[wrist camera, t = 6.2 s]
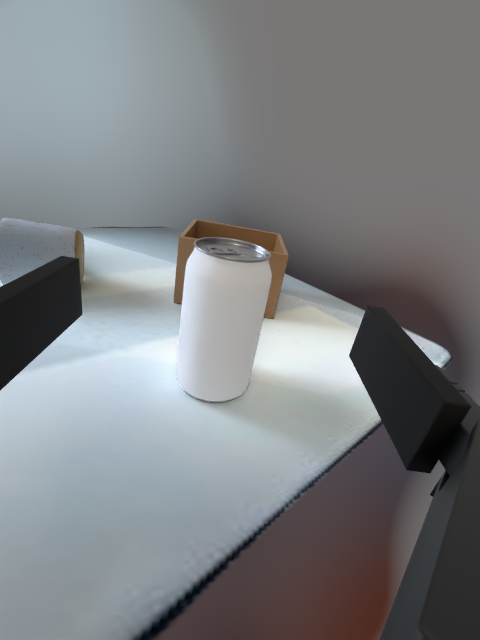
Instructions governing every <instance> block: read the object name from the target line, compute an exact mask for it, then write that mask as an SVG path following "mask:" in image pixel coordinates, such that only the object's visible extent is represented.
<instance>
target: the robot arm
mask: <svg viewBox="0 0 480 640" xmlns="http://www.w3.org/2000/svg"><path fill="white" fill-rule="evenodd" d="M81 315H82V300H81V283H80V267H79V258H73V257H66V256H60V257H58V258H56V259H54V260H52V261H50V262H48V263H46V264H44V265H42V266H40V267H38V268H36V269H34V270H33V271H31V272H29V273H27V274H25V275H23V276H21V277H19V278H17V279H15V280H13V281H11V282H9V283H7V284H5V285H3V286H1V287H0V390H1V389H2V388H3V387H4V386H6V385H7V384H8V383H9V382H10V381H11V380H12V379H13V378H14V377H15V376H16V375H17V374H18V373H20V372H21V371H22V370H23V369H24V368H25V367H26V366H27V365H28V364H29V363H30V362H31V361H33V360H34V359H35V358H36V357H37V356H38V355H39V354H40V353H41V352H42V351H43V350H44V349H45V348H47V347H48V346H49V345H50V344H51V343H52V342H53V341H54V340H55V339H56V338H57V337H58V336H60V335H61V334H62V333H63V332H64V331H65V330H66V329H67V328H68V327H69V326H70V325H71V324H72V323H74V322H75V321H76V320H77V319H78V318H79V317H80V316H81ZM349 356H350V358H351V360H352V362H353V364H354V366H355V368H356V370H357V372H358V374H359V376H360V378H361V380H362V382H363V384H364V386H365V388H366V390H367V392H368V394H369V396H370V398H371V400H372V402H373V404H374V406H375V408H376V410H377V412H378V414H379V416H380V418H381V420H382V422H383V424H384V426H385V428H386V430H387V432H388V434H389V435H390V438H391V439H392V442H393V444H394V446H395V448H396V449H397V451H398V454H399V455H400V458H401V459H402V461H403V463H404V465H405V467H406V469H407V470H410V471H417V472H426V473H431V471H432V470H433V468H434V466H435V464H436V463H437V461H438V460H440V462H441V463H442V465H443V466H444V468H445V470H446V471H445V472H444V474H443V475H442V477H441V478H440V480H439V481H438V483H437V484H436V486H435V487H434V489H433V491H432V492H431V494H430V495H431V496H433V499H432V502H431V505H430V507H429V510H428V513H427V515H426V518H425V521H424V523H423V526H422V529H421V531H420V534H419V537H418V540H417V542H416V545H415V548H414V550H413V553H412V555H411V558H410V561H409V563H408V566H407V569H406V571H405V574H404V577H403V579H402V582H401V585H400V587H399V590H398V593H397V595H396V598H395V601H394V603H393V606H392V609H391V611H390V614H389V617H388V619H387V622H386V625H385V627H384V630H383V633H382V635H381V638H380V640H480V407H479V406H478V405H477V404H476V403H475V402H474V401H473V399H472V398H471V397H470V396H469V395H468V394H467V393H465V391H464V390H463V389H462V387H461V386H460V385H458V383H457V382H456V381H455V380H454V379H453V378H452V377H451V376H450V374H448V373H447V372H445V371H444V370H443V369H441V368H440V367H438V366H437V365H434V364H433V363H432V361H431V360H430V359H429V358H428V357H427V356H426V355H425V354H424V353H423V351H422V350H421V349H420V348H419V347H418V346H417V345H416V344H415V343H414V341H413V340H412V339H411V338H410V337H409V336H408V335H407V334H406V332H405V331H404V330H403V329H402V328H401V327H400V326H399V325H398V324H397V322H396V321H395V320H394V319H393V318H392V317H391V316H390V315H389V314H388V312H387V311H386V310H385V309H384V308H380V307H373V306H367V308H366V311H365V314H364V317H363V319H362V322H361V325H360V327H359V330H358V333H357V336H356V338H355V341H354V344H353V346H352V349H351V352H350V355H349Z"/></svg>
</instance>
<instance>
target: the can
mask: <svg viewBox="0 0 480 640" xmlns="http://www.w3.org/2000/svg"><path fill="white" fill-rule="evenodd" d="M194 246H195V248H194V250H193V252H192V253H191V255H190V257H189V258H188V260H187V263H186V270H185V278H184V288H183V298H182V309H181V319H180V330H179V340H178V351H177V363H176V380H177V382H178V384H179V386H180V387H181V388H182V389H183V390H184V391H185V392H186V393H187V394H189V395H190V396H192V397H194V398H196V399H199V400H202V401H206V402H225V401H229V400H232V399H234V398H236V397H238V396H240V395H241V394H242V393H243V392H244V391H245V390H246V388H247V386H248V383H249V379H250V375H251V371H252V366H253V362H254V357H255V353H256V348H257V344H258V340H259V335H260V331H261V326H262V322H263V317H264V312H265V308H266V303H267V299H268V294H269V289H270V284H271V278H272V273H271V269H270V265H269V259H270V257H271V254H270V252H269V251H268V250H266V249H265V248H263V247H261V246H258V245H256V244H253V243H250V242H246V241H242V240H237V239H231V238H223V237H204V238H199V239H197V240H195V242H194Z"/></svg>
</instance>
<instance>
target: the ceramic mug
mask: <svg viewBox="0 0 480 640" xmlns="http://www.w3.org/2000/svg"><path fill="white" fill-rule="evenodd" d="M60 256H66V257H73V258H79V267H80V283H81V284H82V283H83V276H84V238H83V235H82V233H81V232H80V231H78V230H75V229H72V228H68V227H64V226H57V225H49V224H43V223H37V222H31V221H25V220H19V219H12V218H4V219H2V220H1V222H0V280H1V282H2V283H3V284H4V285H5V284H7V283H9V282H11V281H13V280H15V279H17V278H19V277H21V276H23V275H25V274H27V273H29V272H31V271H33V270H34V269H36V268H38V267H40V266H42V265H44V264H46V263H48V262H50V261H52V260H54V259H56V258H58V257H60Z"/></svg>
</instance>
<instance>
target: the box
mask: <svg viewBox="0 0 480 640" xmlns="http://www.w3.org/2000/svg"><path fill="white" fill-rule="evenodd" d="M204 237H223V238H231V239H237V240H242V241H246V242H250V243H253V244H256V245H258V246H261V247H263V248H265V249H266V250H268V251H269V252H270V254H271V257H270V259H269V265H270V269H271V273H272V278H271V284H270V289H269V294H268V299H267V303H266V308H265V312H264V317H265V318H271V319H274V315H275V310H276V306H277V302H278V298H279V294H280V289H281V285H282V281H283V277H284V273H285V269H286V264H287V260H288V253H287V250H286V248H285V245H284V243H283V240H282V238H281V235H280V234H277V233H272V232H266V231H261V230H255V229H249V228H244V227H238V226H232V225H227V224H221V223H215V222H210V221H204V220H198V219H194V220H193V222H192V223H191V224H190V225H189V226H188V227H187V228H186V229H185V231H184V232H183V233H182V234H181V235H180V236H179V242H178V255H177V267H176V279H175V291H174V303H179V304H182V298H183V288H184V278H185V270H186V263H187V260H188V258H189V257H190V255H191V253H192V252H193V250H194V248H195V246H194V242H195V240H197V239H199V238H204Z"/></svg>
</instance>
